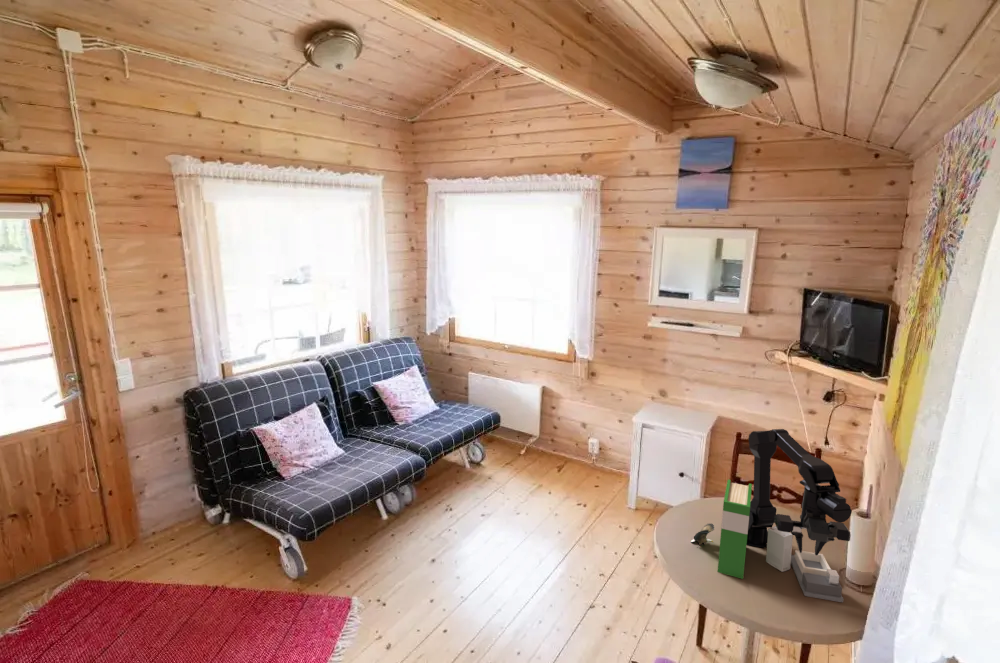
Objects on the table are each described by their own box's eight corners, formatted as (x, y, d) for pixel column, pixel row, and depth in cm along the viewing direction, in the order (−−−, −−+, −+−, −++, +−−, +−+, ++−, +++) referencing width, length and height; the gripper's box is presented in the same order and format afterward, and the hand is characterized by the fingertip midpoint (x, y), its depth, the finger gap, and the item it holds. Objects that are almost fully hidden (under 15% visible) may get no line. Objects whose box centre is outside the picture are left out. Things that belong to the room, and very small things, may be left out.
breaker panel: (804, 595, 155) (806, 582, 154) (788, 557, 174) (789, 546, 173) (842, 602, 152) (844, 589, 151) (822, 563, 171) (823, 551, 170)
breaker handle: (828, 583, 154) (830, 574, 153) (825, 577, 157) (826, 568, 156) (838, 585, 153) (839, 576, 153) (834, 578, 156) (835, 570, 155)
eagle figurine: (712, 557, 174) (714, 532, 172) (689, 552, 176) (691, 527, 175) (712, 545, 180) (714, 521, 179) (690, 540, 183) (692, 516, 182)
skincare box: (790, 569, 168) (794, 534, 166) (781, 572, 166) (785, 537, 164) (773, 558, 173) (777, 524, 171) (764, 562, 171) (767, 528, 169)
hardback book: (721, 544, 181) (727, 479, 177) (745, 550, 178) (751, 483, 174) (717, 572, 166) (723, 501, 162) (743, 579, 162) (750, 507, 158)
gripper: (785, 512, 148) (779, 563, 150) (860, 523, 143) (853, 575, 145) (776, 495, 158) (771, 542, 161) (846, 504, 153) (840, 553, 156)
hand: (808, 553), depth 156 cm, fingers open, 4 cm apart
